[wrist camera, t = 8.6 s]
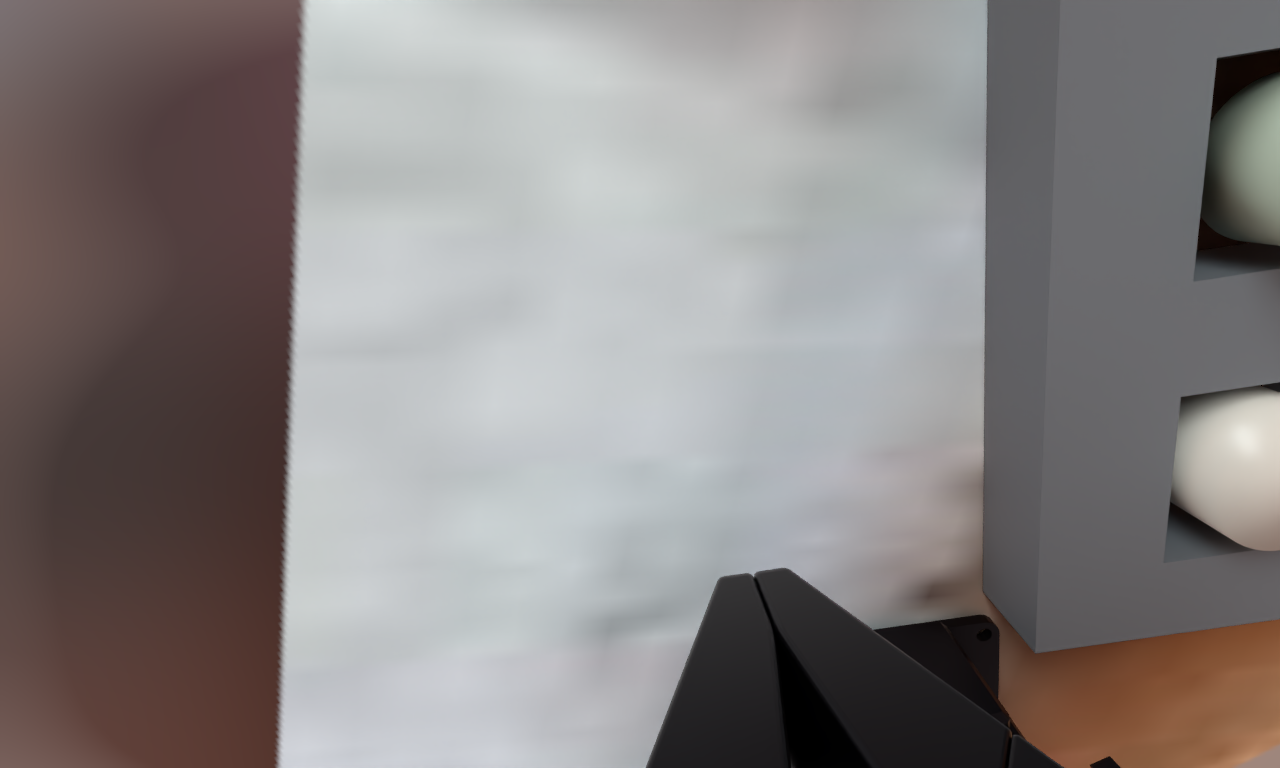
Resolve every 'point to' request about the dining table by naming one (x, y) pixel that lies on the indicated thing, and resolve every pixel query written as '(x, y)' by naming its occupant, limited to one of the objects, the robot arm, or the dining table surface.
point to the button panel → (1113, 318)
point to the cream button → (1231, 464)
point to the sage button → (1245, 165)
